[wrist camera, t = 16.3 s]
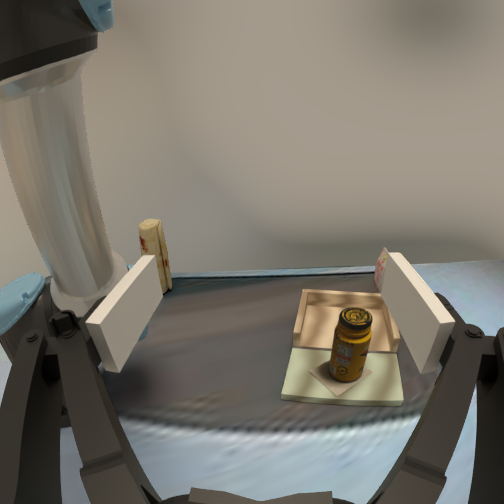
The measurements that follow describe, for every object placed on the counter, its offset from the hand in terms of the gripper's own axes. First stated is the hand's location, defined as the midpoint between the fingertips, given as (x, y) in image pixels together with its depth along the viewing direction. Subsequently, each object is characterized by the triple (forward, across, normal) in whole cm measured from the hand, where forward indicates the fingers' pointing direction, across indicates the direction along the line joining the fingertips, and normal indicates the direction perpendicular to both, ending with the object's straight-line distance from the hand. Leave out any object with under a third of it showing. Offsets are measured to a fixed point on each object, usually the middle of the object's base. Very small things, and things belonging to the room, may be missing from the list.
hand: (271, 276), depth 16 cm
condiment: (+20, +12, -30) cm, 38 cm away
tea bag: (+53, +30, -32) cm, 68 cm away
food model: (+52, -31, -32) cm, 68 cm away
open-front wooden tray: (+28, +14, -32) cm, 45 cm away
